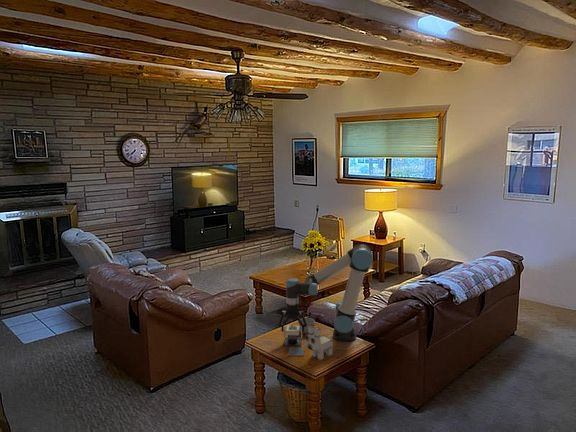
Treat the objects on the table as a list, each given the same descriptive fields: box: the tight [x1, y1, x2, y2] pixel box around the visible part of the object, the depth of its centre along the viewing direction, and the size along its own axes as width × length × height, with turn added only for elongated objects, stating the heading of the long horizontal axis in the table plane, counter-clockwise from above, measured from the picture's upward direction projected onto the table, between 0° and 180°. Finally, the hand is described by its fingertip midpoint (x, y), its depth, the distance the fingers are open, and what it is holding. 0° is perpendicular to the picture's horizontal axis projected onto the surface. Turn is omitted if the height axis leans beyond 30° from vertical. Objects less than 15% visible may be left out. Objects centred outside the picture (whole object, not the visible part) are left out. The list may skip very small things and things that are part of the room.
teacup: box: [298, 316, 316, 334], centre depth 289 cm, size 14×11×8 cm
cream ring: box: [285, 324, 301, 336], centre depth 270 cm, size 8×8×3 cm
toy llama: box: [304, 325, 333, 362], centre depth 252 cm, size 8×18×20 cm, turn 131°
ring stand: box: [283, 324, 303, 348], centre depth 271 cm, size 11×11×12 cm
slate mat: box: [288, 347, 305, 357], centre depth 259 cm, size 9×10×1 cm
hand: (292, 336), depth 271 cm, fingers open, 10 cm apart
